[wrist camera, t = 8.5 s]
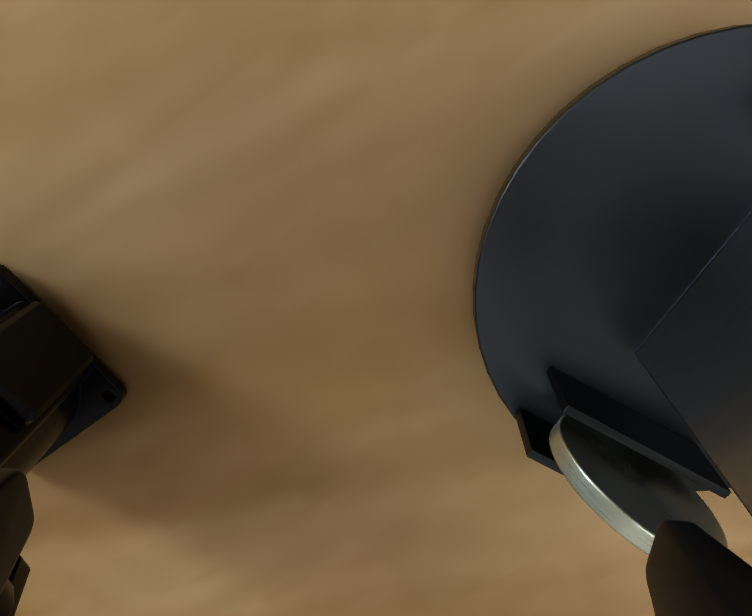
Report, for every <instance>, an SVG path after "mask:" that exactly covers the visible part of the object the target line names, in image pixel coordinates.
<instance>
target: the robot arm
mask: <svg viewBox="0 0 752 616" xmlns="http://www.w3.org/2000/svg"><path fill="white" fill-rule="evenodd" d="M107 390H111V391H112V392H114V394H115V396H111V395H110V394H108V392H107ZM126 393H127V392H126V388H125V386H124V385H123V383H122V382H121V381H120V380H119V379H118V378H117V377H116V376H115V375H114V374H113V373H112V372H111V371H110V370H109V369H108V368H107V367H106V366H105V365H104V364H103V363H102V362H101V361H100V360H99V359H98V358H97V357H96V356H95V355H94V354H93V353H92V352H91V351H90V350H89V349H88V348H87V347H86V346H85V345H84V344H83V343H82V342H81V341H80V340H79V339H78V338H77V337H76V336H75V335H74V334H73V333H72V332H71V331H70V330H69V329H68V328H67V327H66V326H65V325H64V324H63V323H62V322H61V321H60V320H59V319H58V318H57V317H56V316H55V315H54V314H53V313H52V312H51V311H50V310H49V309H48V308H47V307H46V306H45V305H44V304H43V303H42V302H41V301H40V300H39V299H38V298H37V297H36V296H35V295H34V294H33V293H32V292H31V291H30V290H29V289H28V288H27V287H26V286H25V285H24V284H23V283H22V282H21V281H20V280H19V279H18V278H17V277H16V276H15V275H14V274H13V273H12V272H11V271H10V270H9V269H8V268H6V267H5V266H4V265H1V264H0V616H14V615H15V612H16V609H17V606H18V603H19V600H20V598H21V595H22V592H23V589H24V586H25V583H26V580H27V578H28V575H29V572H30V567H29V566H28V565H27V563H26V562H25V561H24V559H23V558H22V557H21V556H20V553H21V551H22V549H23V547H24V545H25V543H26V541H27V539H28V537H29V535H30V533H31V530H32V527H33V522H34V513H33V508H32V503H31V498H30V493H29V488H28V482H27V478H26V474H27V473H28V472H29V471H30V470H31V469H32V468H33V466H34V465H35V464H37V463H38V462H40V461H41V460H42V459H44V458H45V457H47V456H48V455H50V454H51V453H52V452H54V451H55V450H57V449H58V448H59V447H61V446H62V445H64V444H65V443H66V442H68V441H69V440H71V439H72V438H73V437H75V436H76V435H78V434H79V433H80V432H82V431H83V430H85V429H86V428H87V427H89V426H90V425H92V424H93V423H94V422H96V421H97V420H99V419H100V418H101V417H103V416H104V415H106V414H107V413H108V412H110V411H111V410H113V409H114V408H115V407H117V406H118V405H119V404H120V403H121V402H122V400H123V399H124V398H125V397H126ZM646 579H647V584H648V588H649V592H650V596H651V600H652V604H653V608H654V612H655V616H752V567H751V566H750V565H749V564H747V563H746V562H745V561H743V560H742V559H741V558H740V557H738V556H737V555H736V554H734V553H733V552H732V551H730V550H729V549H728V548H726V547H725V546H724V545H723V544H721V543H720V542H719V541H717V540H716V539H715V538H713V537H712V536H711V535H709V534H708V533H707V532H706V531H704V530H703V529H702V528H700V527H699V526H698V525H696V524H695V523H693V522H689V521H679V520H664V521H662V522H660V524H659V525H658V527H657V530H656V534H655V537H654V540H653V544H652V547H651V550H650V554H649V557H648V560H647V564H646Z"/></svg>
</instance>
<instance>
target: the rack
mask: <svg viewBox="0 0 752 616" xmlns="http://www.w3.org/2000/svg"><path fill="white" fill-rule="evenodd" d="M473 315H474V321H475V327H476V333H477V339H478V344H479V348H480V351H481V354H482V357H483V360H484V364H485V367H486V370H487V373H488V375H489V377H490V379H491V381H492V383H493V385H494V387H495V389H496V391H497V393H498V395H499V397H500V398H501V400H502V401H503V403H504V404H505V405H506V407H507V408H508V410H509V411H510V413H511V414H512V415H513V417H514V418H515V419H516V420H517V423H518V427H519V430H520V434H521V437H522V441H523V444H524V448H525V451H526V455H527V457H529V458H531V459H533V460H535V461H537V462H539V463H541V464H543V465H545V466H547V467H549V468H550V469H552V470H554V471H556V472H558V473H560V474H562V475H564V476H565V478H566V479H567V481H568V482H569V483H570V485H571V486H572V487H573V489H574V490H575V491H576V492H577V493H578V494H579V496H580V497H581V498H582V499H583V500H584V501H585V502H586V503H587V505H588V506H589V507H590V508H591V509H592V510H593V511H594V512H595V513H596V514H597V515H598V516H599V517H600V518H601V519H602V520H604V521H605V522H606V523H607V524H608V525H609V526H610V527H611V528H613V529H614V530H615V531H616V532H617V533H619V534H620V535H621V536H622V537H624V538H625V539H626V540H627V541H629V542H630V543H632V544H633V545H634V546H636V547H637V548H639V549H640V550H641V551H643V552H645V553H646V554H648V555H649V554H650V550H651V547H652V544H653V540H654V537H655V534H656V530H657V527H658V525H659V524H660V522H662V521H664V520H679V521H689V522H693V523H695V524H696V525H698V526H699V527H700V528H702V529H703V530H704V531H706V532H707V533H708V534H709V535H711V536H712V537H713V538H715V539H716V540H717V541H719V542H720V543H721V544H723V545H724V546H725V547H726V548H728V544H727V540H726V537H725V534H724V532H723V530H722V528H721V526H720V524H719V522H718V521H717V519H716V517H715V516H714V514H713V513H712V512H711V510H710V509H709V507H708V506H707V505H706V504H705V502H704V501H703V500H702V499H701V497H700V496H699V495H698V494H697V493H696V492H695V491H711V492H713V493H715V494H717V495H719V496H721V497H723V498H726V497H727V496H728V495H729V494H730V493H731V491H730V490H729V489H728V488H732V490H733V491H734V492H735V494H736V495H737V497H738V498H739V499H740V501H741V502H742V503H743V505H744V506H745V508H746V509H747V510H748V512H749V513H750V515H751V516H752V24H748V25H736V26H730V27H725V28H720V29H716V30H711V31H707V32H702V33H698V34H694V35H691V36H688V37H685V38H682V39H680V40H677V41H674V42H671V43H668V44H665V45H663V46H660V47H657V48H655V49H653V50H651V51H649V52H647V53H645V54H643V55H641V56H639V57H637V58H635V59H633V60H631V61H629V62H627V63H625V64H623V65H621V66H620V67H618V68H617V69H615V70H614V71H612V72H610V73H609V74H607V75H606V76H604V77H603V78H601V79H600V80H598V81H597V82H595V83H594V84H592V85H591V86H589V87H588V88H587V89H586V90H584V91H583V92H582V93H581V94H580V95H578V96H577V97H576V98H575V99H574V100H572V101H571V102H570V103H569V104H568V105H567V106H565V107H564V108H563V109H562V110H561V111H560V112H559V113H558V114H557V115H556V116H555V117H554V118H553V119H552V120H551V121H550V122H549V123H548V124H547V125H546V126H545V127H544V128H543V130H542V131H541V132H540V133H539V134H538V135H537V136H536V137H535V138H534V139H533V141H532V142H531V143H530V145H529V146H528V148H527V149H526V150H525V152H524V153H523V154H522V156H521V157H520V158H519V160H518V161H517V162H516V164H515V165H514V167H513V168H512V170H511V172H510V174H509V175H508V177H507V179H506V181H505V182H504V184H503V186H502V188H501V190H500V191H499V193H498V195H497V197H496V199H495V202H494V204H493V206H492V209H491V211H490V214H489V216H488V219H487V221H486V224H485V226H484V230H483V233H482V237H481V241H480V245H479V249H478V252H477V256H476V264H475V272H474V281H473Z"/></svg>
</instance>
